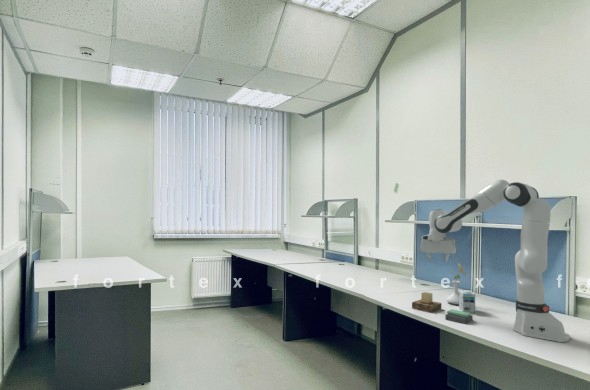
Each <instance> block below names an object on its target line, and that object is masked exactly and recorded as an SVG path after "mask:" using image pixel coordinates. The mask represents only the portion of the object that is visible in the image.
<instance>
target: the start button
mask: <svg viewBox="0 0 590 390" xmlns="http://www.w3.org/2000/svg"><path fill="white" fill-rule="evenodd" d="M446 314H452V315H457V316H462V317H469V316H471V315H472V313H468V312H463V311H462V310H458V309H455V308H454V309H453V308H452V309H449V310H447V312H446Z"/></svg>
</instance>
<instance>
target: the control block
mask: <svg viewBox="0 0 590 390" xmlns="http://www.w3.org/2000/svg"><path fill="white" fill-rule="evenodd" d="M473 319H474V316H473V315H472V314H471V316H469V317H462V316H457V315H452V314H448V313H446V314H445V320H447V321H451V322H455V323H459V324H464V325H465V324H468V323H471V321H473Z"/></svg>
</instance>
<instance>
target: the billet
mask: <svg viewBox="0 0 590 390" xmlns="http://www.w3.org/2000/svg"><path fill="white" fill-rule="evenodd" d="M420 300H421V303H424V304H429V305H430V304H432V301H433V292H428V291H423V292H421V299H420Z"/></svg>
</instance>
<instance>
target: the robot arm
mask: <svg viewBox="0 0 590 390" xmlns="http://www.w3.org/2000/svg"><path fill="white" fill-rule="evenodd" d="M504 201H507V202H508V203H510V204H512V205H514V206H516V207H520V208H522V210H523V216H522V223H521V231H520V236H519V237H520V249H519V250H518V251H517V252H516V254H515V256H514V269H515V279H516V300H515V311H516V313H515V321H514V325H513V327H512V329H513V331H515V332H517V333H519V334H520V335H522V336H525V337H529V338H530V337H531V338H535V339H541V340H547V341H552V342H558V343H567V342H569V341H571V335H570V334H569V333H567V332H565V327H564V324H563V322H562V321H560V320H559V319H558V318H557V317H555V316H554V315H553V314H552V313H550V305H548V304H546V303H545V285H544V281H543V280H544V279H543V275H542V273H544V272H545V271H546V270H547V268H548V239H549V231H550V224H551V205H550V203H549V202H548V201H547V200H546V199H543V198H540V195H539V192H538V190H537V189H536V188H535V187H532V186H531V185H529V184H527V183H522V182H518V181H516V182H515V181H514V182H511V183H509V182H508V181H507V180H505V179H496V180H495V181H493V182H492V183H490V184H489V183H488V185H485V187H483V188H482V189H481V190H479V191H478V192H477V193H475V194H474V195H473V196H471V197H470V198H468V200H466V201H465V202H463V203H461V204H460V205H458V206H457V207H456V208H453V209H452V210H450V211H449V212H447V211H446V210H444V209H442V208H441V209H440V208H438V209H434V210H431V211H430V213H429V217H428V226H429V231H428V232H429V233H428V234H425V235H422V236H421V242H420V248H419V249H420V251H421V252H422V253H426V256H427V257H428V261H433V256H432V255H430V254H431V253H433V254H445V257H444V259H443V261H444V262H449V257H451V255H455V254H456V253H457V248H456V239H455V238H453V237H447V236H446V233H453V232H455V233H456V232H458V231H460V230H461V228H462V227H463V221H462V219H464V218H465V217H467V216H469V215H471V214H475V213H482V212H487V211H489V210H491V209H493V208H496V206H498V205H499V204H501V203H503V202H504Z"/></svg>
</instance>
